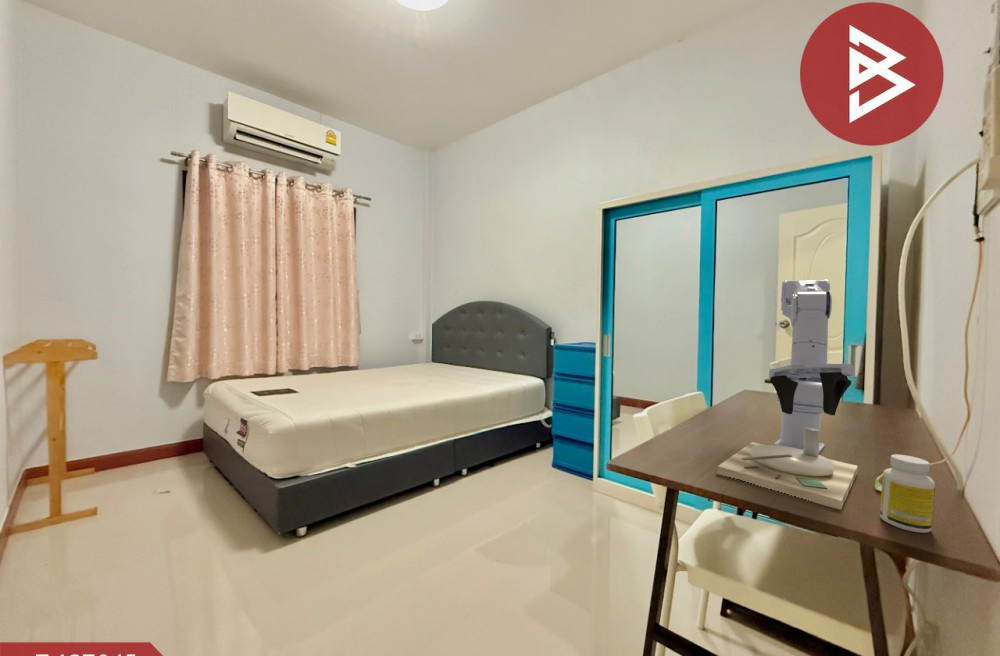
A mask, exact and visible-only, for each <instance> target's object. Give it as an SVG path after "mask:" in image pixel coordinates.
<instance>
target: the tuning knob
mask: <svg viewBox="0 0 1000 656" xmlns="http://www.w3.org/2000/svg"><path fill="white" fill-rule="evenodd" d="M820 438H821V429H820V430H818V429H815V428H805V432H804V449H803V450H801V449H797V448H792V447H786V446H779V445H775V444H764V445H756V446H753V447H752V448H751V457H747V458H742V459H743V460H755V461H757V462H759V463H761V464H763V465H765V466H768V467H771V468H774V469H777V470H781V471H785V472H789V473H794V474H799V475H807V476H827V475H831V474H832V473H833V472H834V463H833V462H832V461H830V460H831V459H830V458H827V457H825V456H823V455H820V452H819V443H821V442H820V440H821V439H820ZM829 459H830V460H829Z"/></svg>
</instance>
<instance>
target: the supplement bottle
mask: <svg viewBox="0 0 1000 656" xmlns="http://www.w3.org/2000/svg"><path fill="white" fill-rule="evenodd" d="M890 466H892V467H890V468H886V469H885V470H883V473H882V480H881V481H882V482H881V483H882V484H881V497H880V508H879V516H880V519H882V520H883V521H884V522H886V523H887V524H889V525H891V526H893V527H896V528H899V529H901V530H905V531H907V532H914V533H923V534H927V533H930V532H931V531H932V528H933V527H932V526H933V517H934V503H935V493H936V492H935V491H936V483H935V481H934V480H933V478H931V476H928V475H927V474H929V473H930V462H929V461H927V460H925V459H923V458H919V457H915V456H912V455H905V454H897V453H896V454H894V453H893V454H892V455H890Z"/></svg>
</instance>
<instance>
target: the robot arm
mask: <svg viewBox="0 0 1000 656" xmlns="http://www.w3.org/2000/svg"><path fill="white" fill-rule="evenodd" d="M780 303H781V304H780V305H781V308H780V310H781V312H782V315H783V316H785V317H787V318H788V319H789V321H790V324H791V327H792V328H791V329H792V334H791V335H792V336H791V337H792V338H791V355H790V356H791V358H790V365H789V364H788V365H784V366H781V367H776V368H769V373H768V377H769V381H770V382H771V384H772V386H773V387H774V390H775V393H776V395H775V402H776V403H777V404H778V405H780V409H781V421H780V422H781V423H780V437H779V438H780V439H778V440H777V441H776V442H774V445H779V446H786V447H792V448H797V449H801V450H803V449H804V432H805V428H815V429H818V430H820V431H821V423H822V420H821V419H822V414H823V413H824V414H827V415H829V416H836V412H837V409H838V407H839V403H841V402H840V401H841V400H842V398H843V395H844V394H845V393H846V391H847V390H848V388H849V387H850V386H851V385H852V380H851V379H848V378H849V377H855V366H854V365H853V364H850V363H847V362H846V363H828V346H829V345H828V344H829V343H828V338H829V333H828V332H829V320H830V317H831V314H832V308H833V297H832V293H831V282H830V281H829V280H828V279H823V280H822V279H819V280H818V279H817V280H815V279H814V280H813V279H812V280H787V279H785V280H784V281H782V282H781V296H780ZM825 445H826V444H825V443H822V442H820V443H819V453H821V451H823V449H824V448H825Z"/></svg>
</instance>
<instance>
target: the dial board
mask: <svg viewBox="0 0 1000 656" xmlns="http://www.w3.org/2000/svg"><path fill="white" fill-rule="evenodd" d="M756 445H765V444H763V443H758V442H755V441H751V442H749V443H748V444H747V445H746V446H744V447H742V448H741V449H740V450H738V451H737V452H736V453H734V454H733V455H731V456H730V457H729V458H727V459H726V460H724V461H722V463H721V464H719V465H718V466H717V472H716V474H717V475H718V476H719V475H720V476H723V477H726V476H727V478H729V477H731V478H730V479H733V478H735V479H734V480H736V479H740V480H743V481H746V482H745V483H747V482H749V483H748V484H750V483H752V484H751V485H753V484H755V485H754V486H757V485H758V486H757V487H760V486H761V488H764V487H765V488H764V489H767V488H768V489H767V490H770V489H772V490H771V491H774V490H775V491H774V492H777V491H779V492H778V493H781V492H782V493H781V494H784V493H786V494H785V495H787V494H789V495H788V496H791V495H792V496H791V497H794V496H796V497H795V498H798V497H799V498H798V499H801V498H803V499H802V500H805V499H806V501H808V500H809V501H808V502H811V501H812V503H816V504H818V505H821V506H826V507H829V508H832V509H836V510H839V511H842V509H843V507H844V504H845V502H846V500H847V497H848V495H849V494H850V490H851V489H852V486H853V484H854V481H855V480H856V477H857V474H858V465H856V464H852V463H847V462H844V461H839V460H834V459H830V458H828V459H829V460H830V461H832V462H833V463H834V472H833V473H832V474H831V475H827V476H807V475H799V474H794V473H789V472H785V471H781V470H777V469H774V468H771V467H768V466H765V465H763V464H761V463H759V462H757V461H755V460H743V459H742V458H747V457H751V448H752V447H753V446H756ZM740 480H739V481H740ZM743 481H742V482H743Z"/></svg>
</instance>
